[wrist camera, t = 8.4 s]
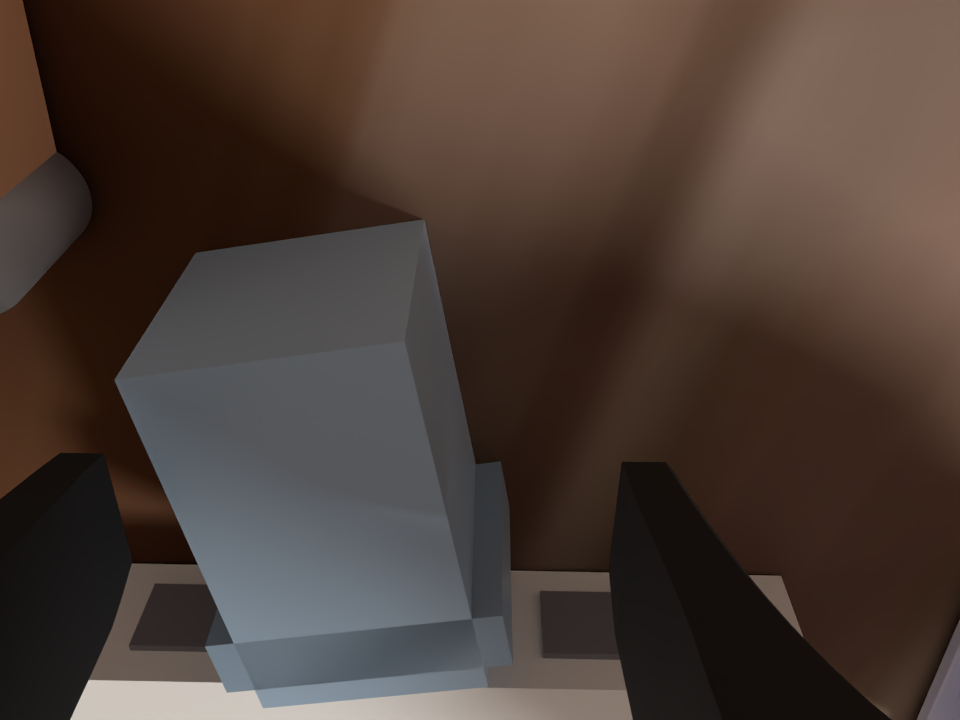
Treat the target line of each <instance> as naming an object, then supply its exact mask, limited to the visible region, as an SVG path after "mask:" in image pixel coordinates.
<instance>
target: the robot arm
mask: <svg viewBox="0 0 960 720" xmlns="http://www.w3.org/2000/svg"><path fill="white" fill-rule="evenodd" d="M131 565H132V557H131V553H130V549H129V546H128V542H127V538H126V534H125V531H124V527H123V523H122V519H121V516H120V512H119V508H118V504H117V501H116V497H115V493H114V490H113V486H112V482H111V478H110V475H109V471H108V467H107V463H106V460H105V456H104V454H89V453H60V454H58V455H57V456H56V457H54V458H53V459H51V460H50V461H49V462H47V463H46V464H45V465H43V466H42V467H41V468H39V469H38V470H37V471H36V472H34V473H33V474H32V475H30V476H29V477H28V478H27V479H25V480H24V481H23V482H21V483H20V484H19V485H18V486H16V487H15V488H14V489H13V490H11V491H10V492H9V493H8V494H6V495H5V496H4V497H3V498H1V499H0V720H70V719H71V717H72V715H73V713H74V710H75V708H76V706H77V704H78V702H79V700H80V698H81V695H82V693H83V691H84V689H85V687H86V685H87V683H88V680H89V678H90V676H91V674H92V672H93V669H94V667H95V665H96V663H97V661H98V658H99V656H100V654H101V652H102V650H103V647H104V645H105V643H106V641H107V638H108V636H109V634H110V632H111V629H112V627H113V624H114V621H115V618H116V615H117V611H118V608H119V605H120V602H121V599H122V596H123V592H124V589H125V585H126V582H127V578H128V575H129V572H130V568H131ZM609 578H610V589H611V600H612V611H613V621H614V631H615V638H616V643H617V648H618V652H619V657H620V662H621V667H622V671H623V676H624V681H625V686H626V690H627V695H628V700H629V704H630V709H631V714H632V718H633V720H891V719H890V718H889V717H887V716H886V715H885V714H884V713H883V712H881V711H880V710H879V709H878V708H877V707H875V706H874V705H873V704H872V703H871V702H869V701H868V700H867V699H866V698H865V697H864V696H863V695H862V694H861V693H859V692H858V691H857V690H856V689H855V688H854V687H853V686H852V685H851V684H850V683H849V682H847V681H846V680H845V679H844V678H843V677H842V676H841V675H840V674H839V673H838V672H837V671H836V670H835V669H834V668H833V667H832V666H831V665H830V664H829V663H828V662H827V661H826V660H825V659H824V658H823V657H822V656H821V655H820V654H819V653H818V652H817V651H816V650H815V649H814V648H813V647H812V646H811V645H810V644H809V643H808V642H807V641H806V640H805V639H804V638H803V637H802V636H801V635H800V634H799V632H798V631H797V630H796V629H795V628H794V627H793V626H792V625H791V624H790V623H789V622H788V621H787V619H786V618H785V617H784V616H783V615H782V614H781V613H780V611H779V610H778V609H777V608H776V607H775V606H774V605H773V604H772V602H771V601H770V600H769V599H768V598H767V597H766V596H765V594H764V593H763V592H762V591H761V590H760V588H759V587H758V586H757V585H756V584H755V582H754V581H753V580H752V579H751V577H750V576H749V575H748V574H747V572H746V571H745V570H744V569H743V567H742V566H741V565H740V563H739V562H738V561H737V560H736V558H735V557H734V556H733V555H732V553H731V552H730V551H729V550H728V548H727V547H726V546H725V544H724V543H723V542H722V540H721V539H720V538H719V536H718V535H717V534H716V532H715V531H714V530H713V528H712V527H711V525H710V524H709V523H708V521H707V520H706V518H705V517H704V516H703V514H702V513H701V511H700V510H699V508H698V507H697V506H696V504H695V503H694V501H693V500H692V498H691V497H690V495H689V494H688V492H687V491H686V489H685V488H684V486H683V485H682V483H681V482H680V480H679V479H678V477H677V476H676V474H675V472H674V471H673V469H672V468H671V467H670V466H669V465H668V464H667V463H666V462H622V465H621V473H620V481H619V489H618V497H617V505H616V513H615V521H614V529H613V537H612V545H611V553H610V562H609ZM917 720H960V620H959V622H958V625H957V627H956V629H955V632H954V634H953V636H952V639H951V641H950V643H949V646H948V648H947V650H946V652H945V655H944V657H943V659H942V662H941V664H940V666H939V669H938V671H937V673H936V676H935V678H934V680H933V683H932V685H931V687H930V690H929V692H928V694H927V697H926V699H925V701H924V704H923V706H922V708H921V711H920V713H919V715H918V718H917Z"/></svg>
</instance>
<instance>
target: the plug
mask: <svg viewBox="0 0 960 720" xmlns="http://www.w3.org/2000/svg"><path fill="white" fill-rule="evenodd" d="M114 381H115V383H116V385H117V387H118V389H119V392H120V394H121V396H122V398H123V400H124V403H125V405H126V407H127V409H128V412H129V414H130V416H131V418H132V420H133V423H134V425H135V427H136V429H137V431H138V434H139V436H140V438H141V440H142V442H143V445H144V447H145V449H146V451H147V453H148V456H149V458H150V460H151V462H152V464H153V467H154V469H155V471H156V473H157V475H158V478H159V480H160V482H161V484H162V487H163V489H164V491H165V493H166V495H167V498H168V500H169V502H170V504H171V506H172V509H173V511H174V513H175V515H176V517H177V520H178V522H179V524H180V526H181V528H182V531H183V533H184V535H185V537H186V539H187V542H188V544H189V546H190V548H191V550H192V553H193V555H194V557H195V559H196V562H197V564H198V566H199V568H200V570H201V573H202V575H203V577H204V579H205V581H206V584H207V586H208V588H209V590H210V592H211V595H212V597H213V599H214V601H215V603H216V606H217V608H218V609H217V612H216V615H215V618H214V620H213V623H212V626H211V629H210V632H209V635H208V638H207V641H206V644H205V648H206V650H207V652H208V654H209V656H210V658H211V661H212V663H213V665H214V667H215V669H216V671H217V673H218V675H219V677H220V679H221V681H222V683H223V686H224V688H225V690H226V692H227V693H230V692H241V691H251V690H255V692H256V694H257V696H258V698H259V701H260V703H261V705H262V707H263V708H273V707H283V706H294V705H304V704H315V703H325V702H336V701H346V700H356V699H367V698H377V697H388V696H398V695H409V694H419V693H430V692H440V691H451V690H461V689H471V688H482V687H488V667H496V666H507V665H513V645H512V600H511V556H510V511H509V502H508V497H507V492H506V486H505V481H504V476H503V471H502V466H501V461H499V462H491V463H482V464H476V463H475V458H474V454H473V449H472V444H471V439H470V435H469V430H468V425H467V420H466V416H465V411H464V406H463V401H462V397H461V392H460V387H459V382H458V378H457V373H456V368H455V363H454V359H453V354H452V349H451V345H450V340H449V335H448V330H447V326H446V321H445V316H444V311H443V307H442V302H441V297H440V292H439V288H438V283H437V278H436V273H435V269H434V264H433V259H432V254H431V250H430V245H429V240H428V235H427V231H426V226H425V221H424V219H423V220H416V221H409V222H402V223H395V224H389V225H382V226H375V227H368V228H361V229H354V230H348V231H341V232H334V233H327V234H320V235H314V236H307V237H300V238H293V239H286V240H279V241H273V242H266V243H259V244H252V245H245V246H239V247H232V248H225V249H218V250H211V251H204V252H198V253H195V255H194V256H193V258H192V259H191V261H190V262H189V264H188V266H187V267H186V269H185V270H184V272H183V273H182V275H181V276H180V278H179V280H178V281H177V283H176V284H175V286H174V287H173V289H172V291H171V292H170V294H169V295H168V297H167V298H166V300H165V301H164V303H163V305H162V306H161V308H160V309H159V311H158V312H157V314H156V316H155V317H154V319H153V320H152V322H151V323H150V325H149V327H148V328H147V330H146V331H145V333H144V334H143V336H142V337H141V339H140V341H139V342H138V344H137V345H136V347H135V348H134V350H133V352H132V353H131V355H130V356H129V358H128V359H127V361H126V363H125V364H124V366H123V367H122V369H121V370H120V372H119V373H118V375H117V377H116V378H115V380H114Z"/></svg>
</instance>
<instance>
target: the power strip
mask: <svg viewBox="0 0 960 720" xmlns="http://www.w3.org/2000/svg"><path fill="white" fill-rule="evenodd" d="M749 576H750V577H751V579H752V580H753V581H754V582H755V584H756V585H757V586H758V587H759V588H760V590H761V591H762V592H763V593H764V594H765V596H766V597H767V598H768V599H769V600H770V601H771V602H772V604H773V605H774V606H775V607H776V608H777V609H778V610H779V611H780V613H781V614H782V615H783V616H784V617H785V618H786V619H787V621H788V622H789V623H790V624H791V625H792V626H793V627H794V628H795V629H796V630H797V631H798V632H799V634H800V635H801V636H802V637H803V635H802V632H801V629H800V627H799V624H798V621H797V618H796V616H795V613H794V610H793V607H792V605H791V602H790V599H789V596H788V594H787V591H786V588H785V585H784V582H783V580H782V577H781V576H769V575H749ZM511 600H512V645H513V665H507V666H496V667H488V687H482V688H471V689H461V690H451V691H440V692H430V693H419V694H409V695H398V696H388V697H377V698H367V699H356V700H346V701H336V702H325V703H315V704H304V705H294V706H283V707H273V708H263V707H262V705H261V703H260V701H259V698H258V696H257V694H256V692H255V690H251V691H241V692H230V693H227V692H226V690H225V688H224V686H223V683H222V681H221V679H220V677H219V675H218V673H217V671H216V669H215V667H214V665H213V663H212V661H211V658H210V656H209V654H208V652H207V650H206V648H205V644H206V641H207V638H208V635H209V632H210V629H211V626H212V623H213V620H214V618H215V615H216V612H217V609H218V608H217V606H216V603H215V601H214V599H213V597H212V595H211V592H210V590H209V588H208V586H207V584H206V581H205V579H204V577H203V575H202V573H201V570H200V568H199V566H198V565H182V564H132V565H131V568H130V572H129V575H128V578H127V582H126V585H125V589H124V592H123V596H122V599H121V602H120V605H119V608H118V611H117V615H116V618H115V621H114V624H113V627H112V629H111V632H110V634H109V636H108V638H107V641H106V643H105V645H104V647H103V650H102V652H101V654H100V656H99V658H98V661H97V663H96V665H95V667H94V669H93V672H92V674H91V676H90V678H89V680H88V683H87V685H86V687H85V689H84V691H83V693H82V695H81V698H80V700H79V702H78V704H77V706H76V708H75V710H74V713H73V715H72V717H71V719H70V720H633V718H632V714H631V709H630V704H629V700H628V695H627V690H626V686H625V681H624V676H623V671H622V667H621V662H620V657H619V652H618V648H617V643H616V638H615V631H614V621H613V611H612V600H611V589H610V578H609V572H555V571H511Z"/></svg>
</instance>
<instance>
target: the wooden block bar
mask: <svg viewBox="0 0 960 720" xmlns="http://www.w3.org/2000/svg"><path fill="white" fill-rule="evenodd" d="M91 214H92V199H91V195H90V191H89V188H88V186H87V184H86V182H85V180H84V178H83V176H82V175H81V174H80V172H79V171H78V170H77V169H76V167H75V166H74V165H73V164H72V163H71V162H70V161H69V160H67V159H66V158H65V157H64V156H62V155H61V154H59V153H58V152H57V151H56V147H55V142H54V138H53V134H52V129H51V125H50V120H49V116H48V111H47V107H46V103H45V98H44V94H43V89H42V85H41V80H40V76H39V71H38V67H37V63H36V58H35V54H34V49H33V45H32V40H31V36H30V31H29V27H28V23H27V18H26V14H25V9H24V5H23V0H0V313H2V312H5V311H7V310H9V309H10V308H12V307H13V306H15V305H16V304H17V303H18V302H19V301H20V300H21V299H22V298H23V297H24V296H25V295H26V293H27V292H28V291H29V290H30V289H31V288H32V287H33V286H34V285H35V284H36V283H37V282H38V280H39V279H40V278H41V277H42V276H43V275H44V274H45V273H46V272H47V271H48V270H49V268H50V267H51V266H52V265H53V264H54V263H55V262H56V261H57V260H58V259H59V258H60V257H61V255H62V254H63V253H64V252H65V251H66V250H67V249H68V248H69V247H70V246H71V245H72V244H73V242H74V241H75V240H76V239H77V238H78V237H79V236H80V235H81V234H82V233H83V231H84V230H85V229H86V227H87V226H88V224H89V221H90V218H91Z"/></svg>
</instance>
